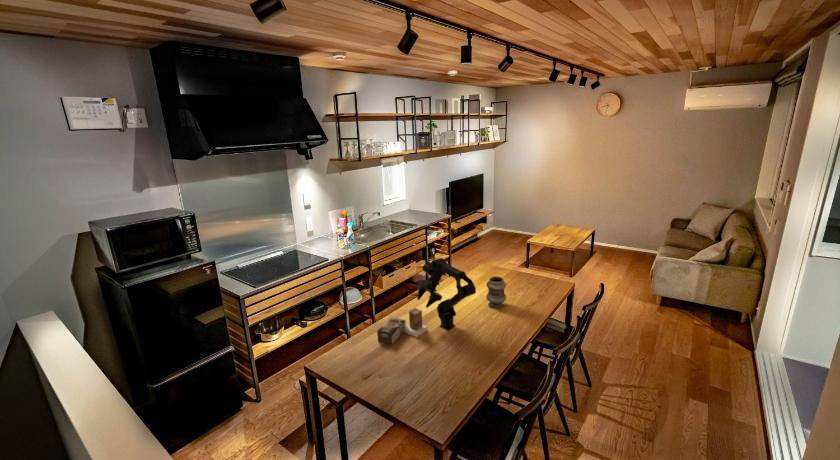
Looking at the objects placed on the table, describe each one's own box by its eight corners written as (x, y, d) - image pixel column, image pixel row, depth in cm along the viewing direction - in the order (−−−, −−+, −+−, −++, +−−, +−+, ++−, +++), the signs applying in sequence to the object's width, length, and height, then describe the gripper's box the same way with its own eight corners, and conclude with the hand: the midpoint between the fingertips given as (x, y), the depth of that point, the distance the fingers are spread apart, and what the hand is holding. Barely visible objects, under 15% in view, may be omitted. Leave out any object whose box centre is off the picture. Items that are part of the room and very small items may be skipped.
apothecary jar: (484, 308, 237) (484, 281, 231) (488, 299, 247) (488, 273, 242) (504, 311, 232) (504, 284, 227) (507, 302, 243) (508, 276, 238)
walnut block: (422, 326, 215) (421, 310, 212) (416, 330, 211) (415, 314, 208) (416, 323, 218) (415, 308, 215) (409, 327, 214) (408, 311, 212)
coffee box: (405, 319, 216) (391, 334, 202) (406, 329, 218) (392, 344, 204) (391, 316, 219) (376, 330, 205) (391, 326, 221) (377, 341, 207)
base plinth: (427, 330, 215) (427, 326, 215) (416, 337, 209) (416, 333, 208) (415, 325, 221) (415, 321, 221) (404, 332, 215) (404, 328, 214)
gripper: (415, 268, 219) (403, 292, 220) (433, 282, 204) (420, 308, 205) (429, 273, 226) (417, 297, 227) (448, 287, 211) (435, 312, 212)
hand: (422, 303), depth 218 cm, fingers open, 9 cm apart
